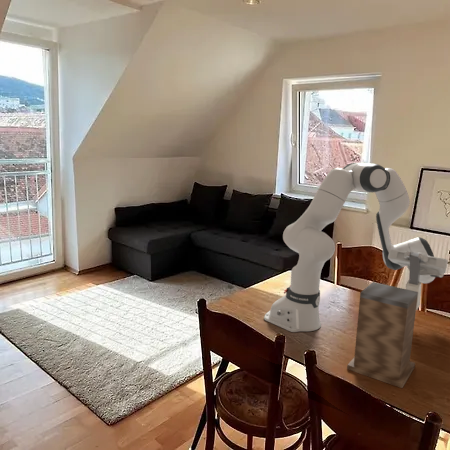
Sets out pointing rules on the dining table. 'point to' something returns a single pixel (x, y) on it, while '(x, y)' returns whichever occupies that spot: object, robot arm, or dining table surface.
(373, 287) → the stand
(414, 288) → the block
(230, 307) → the dining table surface
